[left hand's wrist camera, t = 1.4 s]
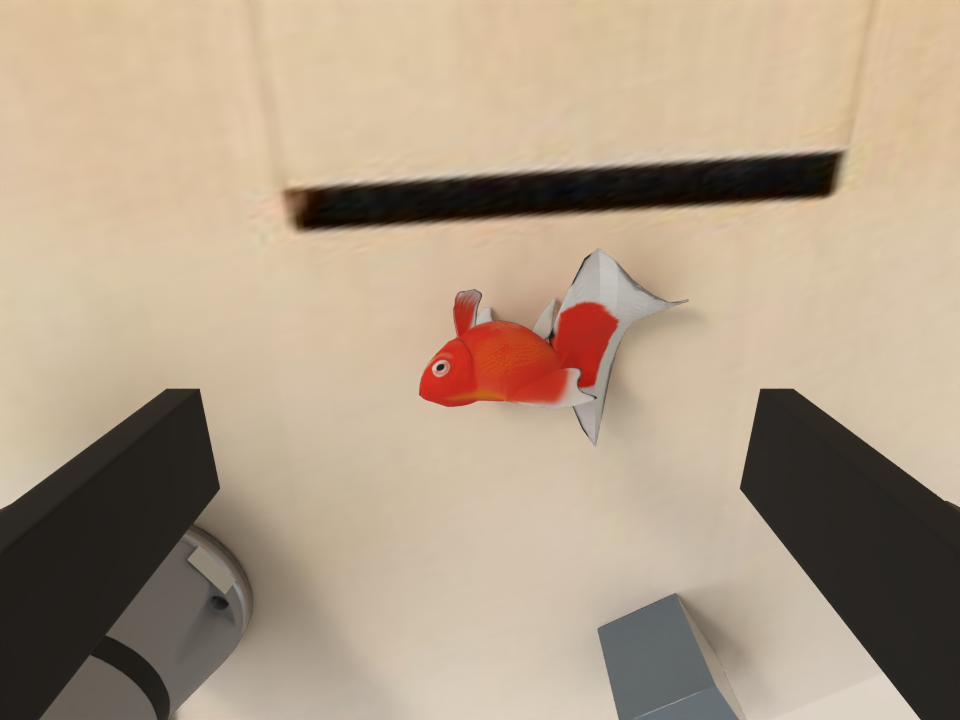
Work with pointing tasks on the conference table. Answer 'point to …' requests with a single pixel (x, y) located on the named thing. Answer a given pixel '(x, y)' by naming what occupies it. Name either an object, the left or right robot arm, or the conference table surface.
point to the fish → (543, 347)
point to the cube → (665, 667)
